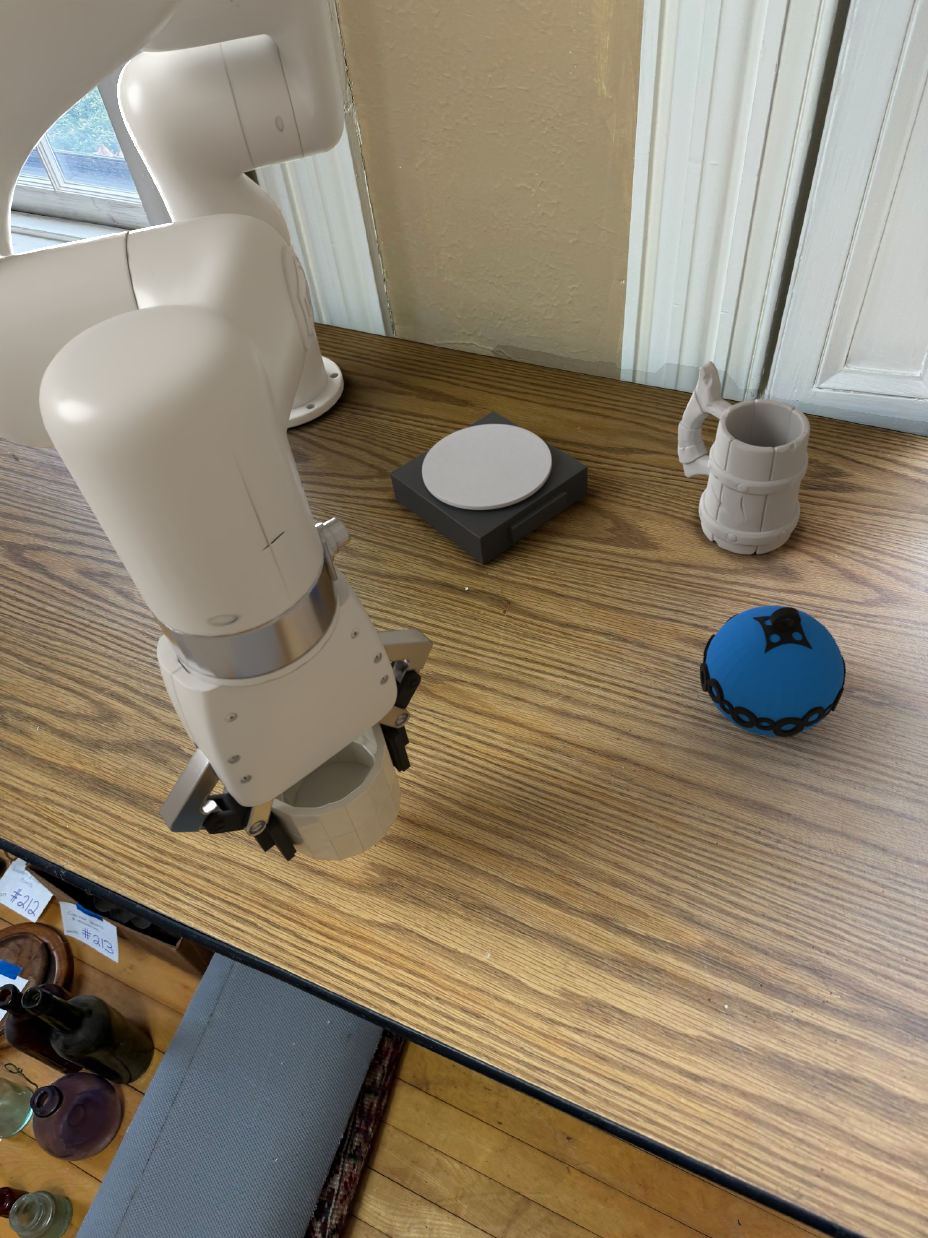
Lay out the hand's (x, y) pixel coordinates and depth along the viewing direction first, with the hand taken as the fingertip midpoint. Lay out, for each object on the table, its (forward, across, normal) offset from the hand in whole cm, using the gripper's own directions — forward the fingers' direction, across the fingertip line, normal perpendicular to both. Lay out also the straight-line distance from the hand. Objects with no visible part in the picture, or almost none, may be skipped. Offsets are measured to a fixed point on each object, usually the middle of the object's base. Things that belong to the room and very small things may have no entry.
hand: (336, 796), depth 50 cm
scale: (+6, -28, -18) cm, 34 cm away
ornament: (+6, -26, +12) cm, 29 cm away
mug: (+6, -40, -2) cm, 40 cm away
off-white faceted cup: (+1, 0, 0) cm, 1 cm away
